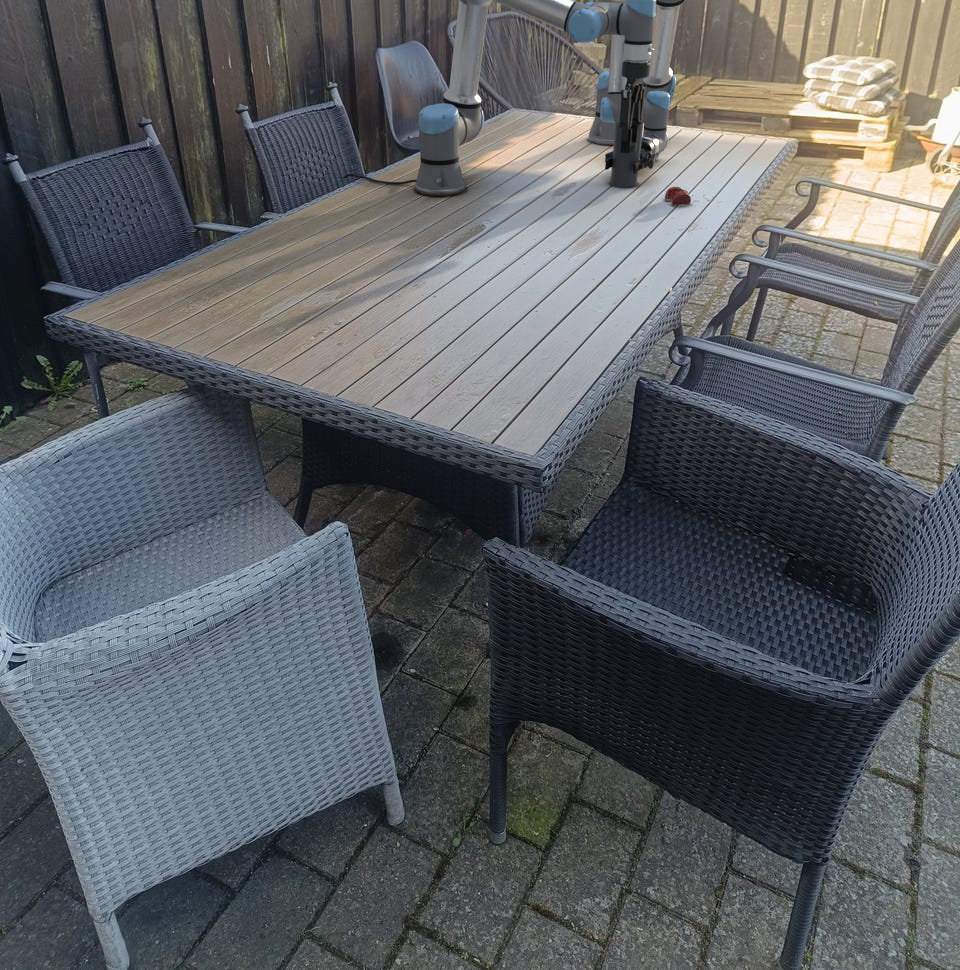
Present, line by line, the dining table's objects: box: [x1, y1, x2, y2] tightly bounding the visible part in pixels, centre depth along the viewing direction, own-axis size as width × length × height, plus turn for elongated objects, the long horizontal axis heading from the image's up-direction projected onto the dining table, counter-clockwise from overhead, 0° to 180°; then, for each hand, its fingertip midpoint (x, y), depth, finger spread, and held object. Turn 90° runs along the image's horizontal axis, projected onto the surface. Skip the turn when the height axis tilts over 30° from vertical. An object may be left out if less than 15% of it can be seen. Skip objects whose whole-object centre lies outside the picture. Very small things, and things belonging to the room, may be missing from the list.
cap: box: [630, 141, 637, 152], centre depth 241 cm, size 4×4×2 cm
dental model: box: [664, 186, 692, 206], centre depth 247 cm, size 6×4×8 cm
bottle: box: [609, 118, 644, 189], centre depth 257 cm, size 8×8×23 cm
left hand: (628, 150), depth 242 cm, fingers closed on cap, 4 cm apart
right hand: (620, 167), depth 257 cm, fingers closed on bottle, 8 cm apart
